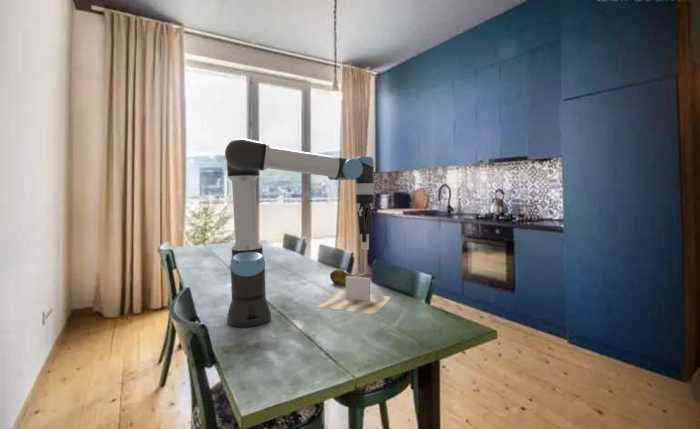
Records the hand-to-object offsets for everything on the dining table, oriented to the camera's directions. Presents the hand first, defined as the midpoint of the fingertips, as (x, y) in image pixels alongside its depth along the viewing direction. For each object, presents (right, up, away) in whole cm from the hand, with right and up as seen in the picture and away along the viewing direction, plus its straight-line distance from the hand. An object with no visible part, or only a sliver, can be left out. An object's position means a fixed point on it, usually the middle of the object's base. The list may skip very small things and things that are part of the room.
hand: (365, 249), depth 153 cm
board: (-4, -21, -9) cm, 24 cm away
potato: (-9, -20, +16) cm, 27 cm away
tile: (-3, -20, -7) cm, 21 cm away
